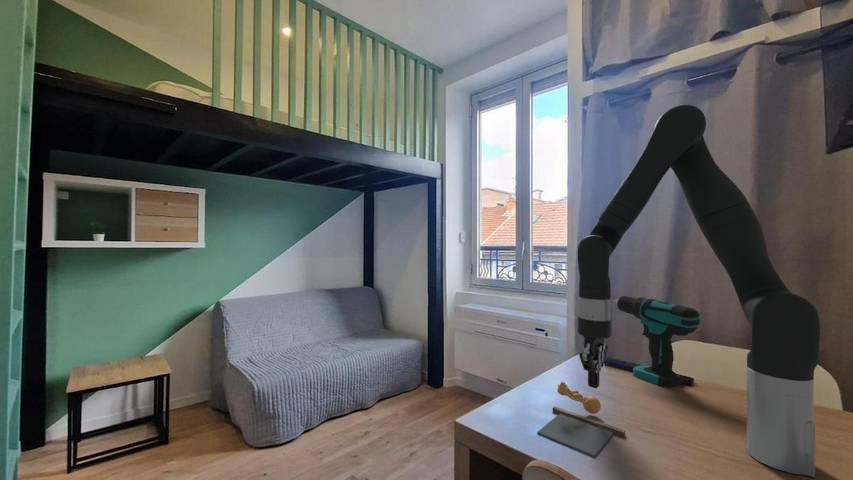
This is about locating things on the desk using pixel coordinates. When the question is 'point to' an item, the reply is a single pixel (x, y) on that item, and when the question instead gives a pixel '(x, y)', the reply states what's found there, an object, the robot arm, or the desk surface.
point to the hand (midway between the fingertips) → (593, 386)
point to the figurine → (580, 398)
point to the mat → (576, 434)
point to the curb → (590, 421)
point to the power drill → (660, 335)
